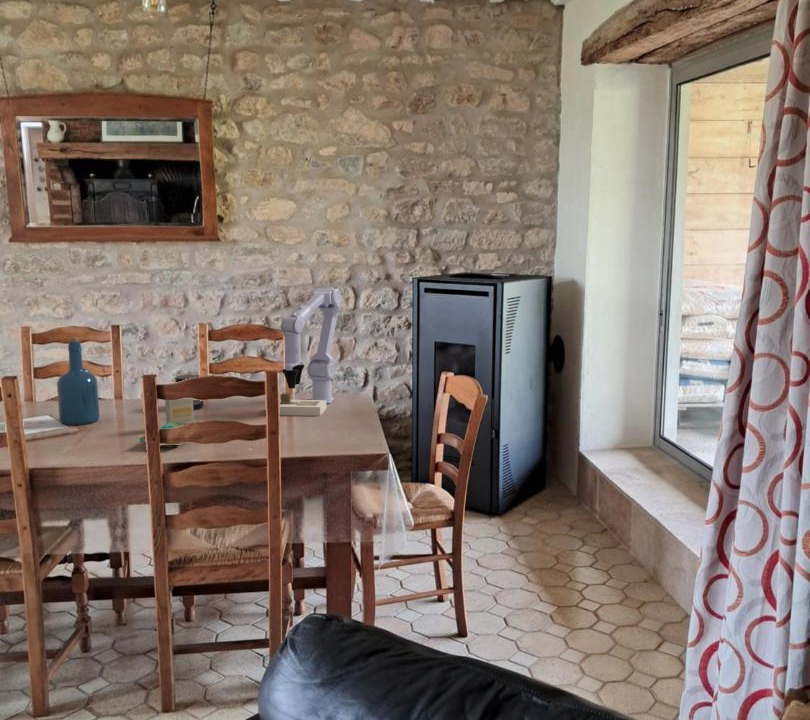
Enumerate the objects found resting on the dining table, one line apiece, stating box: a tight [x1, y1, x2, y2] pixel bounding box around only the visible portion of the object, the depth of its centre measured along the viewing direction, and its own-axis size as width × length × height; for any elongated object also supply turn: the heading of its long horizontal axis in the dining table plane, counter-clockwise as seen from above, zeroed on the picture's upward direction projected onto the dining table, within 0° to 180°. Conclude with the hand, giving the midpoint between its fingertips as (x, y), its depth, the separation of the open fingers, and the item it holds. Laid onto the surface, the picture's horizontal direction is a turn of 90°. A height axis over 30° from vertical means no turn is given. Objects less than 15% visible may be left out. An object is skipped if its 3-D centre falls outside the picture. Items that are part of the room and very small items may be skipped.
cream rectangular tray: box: [279, 399, 327, 417], centre depth 300 cm, size 12×20×3 cm, turn 85°
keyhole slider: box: [280, 392, 292, 404], centre depth 300 cm, size 6×6×6 cm
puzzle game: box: [139, 423, 189, 448], centre depth 260 cm, size 12×5×20 cm
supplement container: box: [174, 374, 205, 411], centre depth 307 cm, size 10×10×12 cm
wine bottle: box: [56, 336, 101, 426], centre depth 285 cm, size 14×13×30 cm
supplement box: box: [164, 399, 195, 424], centre depth 276 cm, size 8×5×13 cm, turn 124°
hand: (294, 386), depth 300 cm, fingers open, 7 cm apart
